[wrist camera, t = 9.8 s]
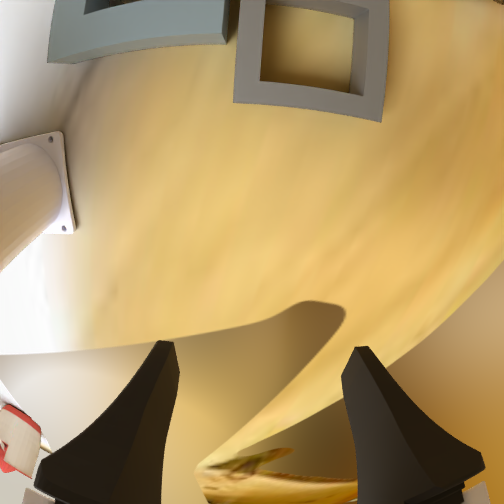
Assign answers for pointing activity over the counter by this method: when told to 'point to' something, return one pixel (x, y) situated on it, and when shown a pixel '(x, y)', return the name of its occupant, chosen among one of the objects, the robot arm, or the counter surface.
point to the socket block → (132, 27)
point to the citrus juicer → (18, 441)
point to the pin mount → (298, 96)
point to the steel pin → (129, 1)
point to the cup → (500, 1)
